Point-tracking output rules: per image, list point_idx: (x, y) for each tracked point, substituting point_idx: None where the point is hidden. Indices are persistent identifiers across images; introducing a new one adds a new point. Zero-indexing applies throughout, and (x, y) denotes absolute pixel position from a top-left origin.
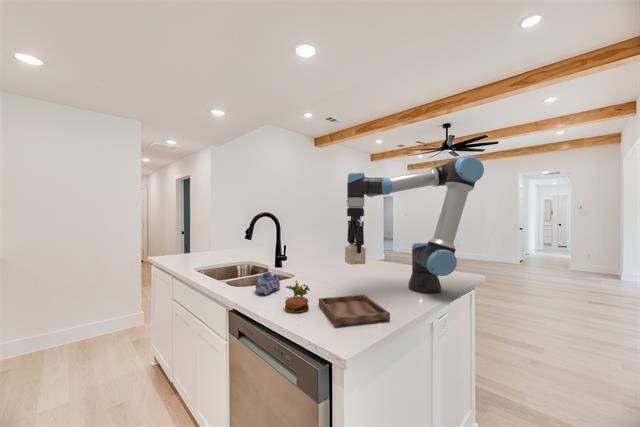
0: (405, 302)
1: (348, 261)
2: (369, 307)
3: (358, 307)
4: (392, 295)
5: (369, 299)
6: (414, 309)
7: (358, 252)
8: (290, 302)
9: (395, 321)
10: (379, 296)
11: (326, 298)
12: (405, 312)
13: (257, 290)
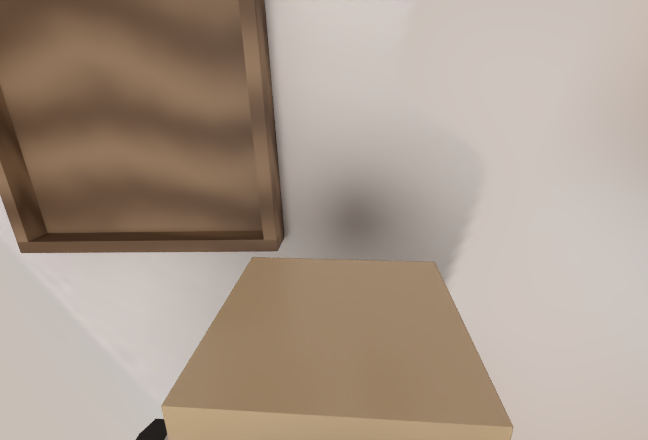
0: None
1: (304, 270)
2: (167, 220)
3: (171, 172)
4: None
5: (197, 246)
6: (168, 374)
7: (143, 436)
8: None
9: (54, 259)
10: None
11: (242, 7)
12: (140, 332)
13: None
